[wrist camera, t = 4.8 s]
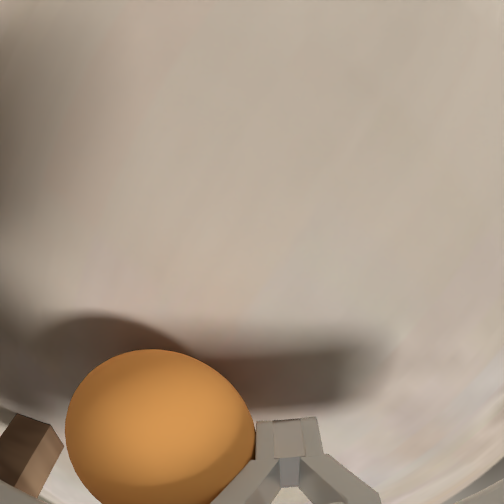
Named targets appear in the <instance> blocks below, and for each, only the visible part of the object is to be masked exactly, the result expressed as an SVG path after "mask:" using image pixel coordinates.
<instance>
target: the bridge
mask: <svg viewBox="0 0 504 504" xmlns="http://www.w3.org/2000/svg"><path fill="white" fill-rule="evenodd" d="M63 448H64V445H63V444H62V442H61V441H60V439H59V438H58V436H57V435H56V433H55V432H54V430H53V428H52V427H51V425H48V424H45V423H42V422H39V421H36V420H33V419H30V418H27V417H25V416H22V415H19V414H16V416H15V417H14V419H13V420H12V421H11V423H10V424H9V425H8V427H7V428H6V430H5V431H4V432H3V434H2V435H1V437H0V480H2V481H4V482H6V483H7V484H9V485H11V486H13V487H15V488H17V489H19V490H21V491H23V492H25V493H27V494H29V495H31V496H33V497H35V498H38V496H39V494H40V492H41V490H42V488H43V486H44V484H45V482H46V480H47V478H48V476H49V474H50V472H51V470H52V468H53V466H54V464H55V463H56V461H57V459H58V457H59V455H60V453H61V451H62V449H63Z"/></svg>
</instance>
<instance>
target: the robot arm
mask: <svg viewBox="0 0 504 504" xmlns="http://www.w3.org/2000/svg"><path fill="white" fill-rule="evenodd" d="M297 486H299V489H300V490H301V491H302V492H303V493H304V494H305V495H306V496H307V498H308V499H309V500H310V501H311V502H312V503H313V504H381V500H380V497H379V493H378V492H376V491H375V490H374V489H372V488H371V487H370V486H368V485H367V484H366V483H364V482H363V481H362V480H360V479H359V478H358V477H357V476H355V475H354V474H353V473H351V472H350V471H349V470H348V469H346V468H345V467H344V466H343V465H341V464H340V463H339V462H338V461H336V460H335V459H334V458H333V457H332V456H330V455H329V454H324V452H323V447H322V442H321V437H320V432H319V426H318V421H317V418H316V417H309V418H300V419H299V418H298V419H287V420H273V421H257V423H256V449H255V460H250V461H249V462H248V464H247V465H246V466H245V467H244V468H243V469H242V470H241V471H240V473H239V474H238V475H237V476H236V477H235V478H234V479H233V480H232V481H231V482H230V483H229V484H228V486H227V487H226V488H225V489H224V490H223V491H222V492H221V493H220V494H219V495H218V496H217V497H216V498H215V499H214V500H213V501H212V502H211V503H210V504H271V503H272V501H273V500H274V498H275V497H276V495H277V494H278V492H279V491H280V489H281V488H284V487H297ZM0 504H48V503H46V502H44V501H42V500H39V499H37V498H35V497H33V496H31V495H29V494H27V493H25V492H23V491H21V490H19V489H17V488H15V487H13V486H11V485H9V484H7V483H6V482H4V481H2V480H0ZM454 504H504V478H503V479H502V480H500V481H498V482H496V483H495V484H493V485H491V486H489V487H487V488H485V489H483V490H481V491H479V492H477V493H475V494H473V495H471V496H469V497H467V498H465V499H463V500H460V501H458V502H456V503H454Z"/></svg>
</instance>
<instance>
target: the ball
mask: <svg viewBox="0 0 504 504" xmlns="http://www.w3.org/2000/svg"><path fill="white" fill-rule="evenodd" d="M65 437H66V446H67V450H68V454H69V457H70V460H71V462H72V465H73V467H74V469H75V472H76V473H77V475H78V477H79V478H80V480H81V481H82V483H83V484H84V486H85V487H86V488H87V489H88V490H89V492H90V493H91V494H92V495H93V496H94V497H95V498H96V499H97V500H99V501H100V502H101V503H102V504H210V503H211V502H212V501H213V500H214V499H215V498H216V497H217V496H218V495H219V494H220V493H221V492H222V491H223V490H224V489H225V488H226V487H227V486H228V484H229V483H230V482H231V481H232V480H233V479H234V478H235V477H236V476H237V475H238V474H239V473H240V471H241V470H242V469H243V468H244V467H245V466H246V465H247V464H248V462H249V461H250V460H255V449H256V432H255V427H254V423H253V420H252V417H251V415H250V412H249V410H248V408H247V406H246V404H245V402H244V400H243V399H242V397H241V396H240V394H239V393H238V392H237V390H236V389H235V388H234V387H233V385H232V384H231V383H230V382H229V381H228V380H227V379H226V378H224V377H223V376H222V375H221V374H220V373H218V372H217V371H216V370H214V369H213V368H211V367H210V366H208V365H207V364H205V363H203V362H201V361H199V360H197V359H195V358H192V357H190V356H187V355H185V354H182V353H178V352H173V351H167V350H159V349H146V350H136V351H131V352H126V353H123V354H120V355H118V356H115V357H113V358H110V359H109V360H107V361H105V362H104V363H102V364H100V365H99V366H97V367H96V368H95V369H93V370H92V371H91V372H90V373H89V374H88V375H87V376H86V377H85V378H84V380H83V381H82V382H81V383H80V384H79V386H78V387H77V389H76V391H75V392H74V394H73V396H72V399H71V401H70V404H69V407H68V411H67V416H66V421H65Z"/></svg>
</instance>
